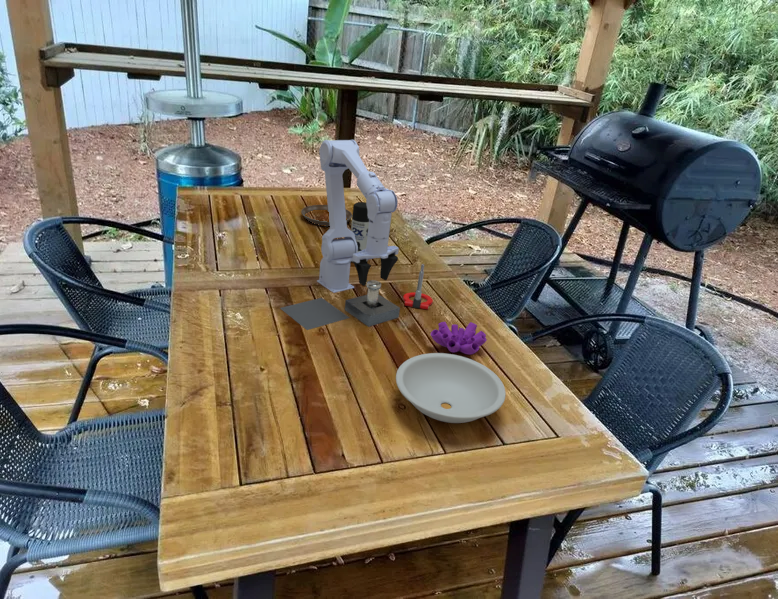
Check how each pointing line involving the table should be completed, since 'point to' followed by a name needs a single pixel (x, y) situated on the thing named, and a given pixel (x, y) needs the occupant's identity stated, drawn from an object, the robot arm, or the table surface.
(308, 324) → the mat
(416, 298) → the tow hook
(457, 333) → the purple tube coral
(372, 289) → the pin
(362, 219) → the spray can
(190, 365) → the table surface
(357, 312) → the square hole block
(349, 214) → the dark grey ring
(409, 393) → the sink basin
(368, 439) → the table surface
